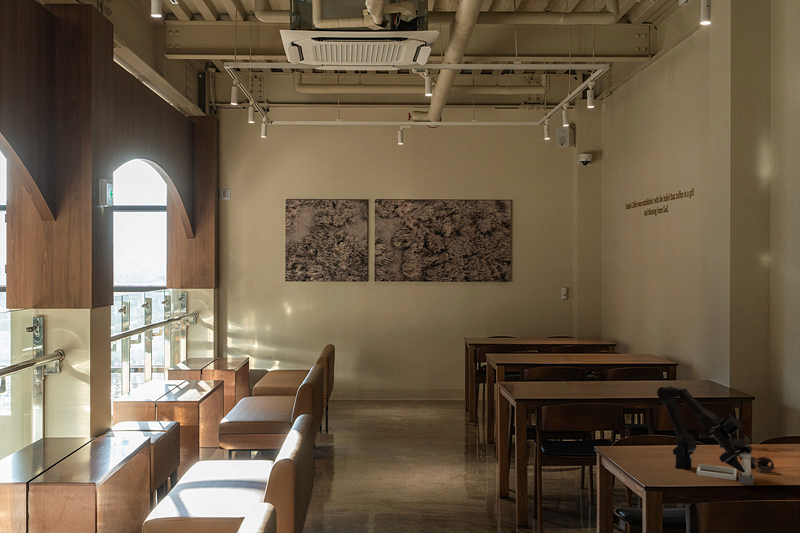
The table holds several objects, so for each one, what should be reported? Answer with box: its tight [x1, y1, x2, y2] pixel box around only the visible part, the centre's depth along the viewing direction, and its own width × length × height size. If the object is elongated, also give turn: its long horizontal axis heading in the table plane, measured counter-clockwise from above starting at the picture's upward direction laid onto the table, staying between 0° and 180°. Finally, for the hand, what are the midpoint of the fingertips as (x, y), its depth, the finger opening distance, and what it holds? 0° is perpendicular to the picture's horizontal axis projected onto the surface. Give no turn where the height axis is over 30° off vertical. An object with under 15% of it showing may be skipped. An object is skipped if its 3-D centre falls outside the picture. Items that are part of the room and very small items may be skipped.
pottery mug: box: [751, 456, 776, 474], centre depth 316 cm, size 12×10×8 cm
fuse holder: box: [738, 472, 754, 486], centre depth 298 cm, size 6×6×4 cm
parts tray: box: [696, 463, 738, 481], centre depth 309 cm, size 16×12×3 cm
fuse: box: [741, 453, 752, 478], centre depth 298 cm, size 4×4×12 cm
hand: (749, 470), depth 296 cm, fingers open, 8 cm apart
